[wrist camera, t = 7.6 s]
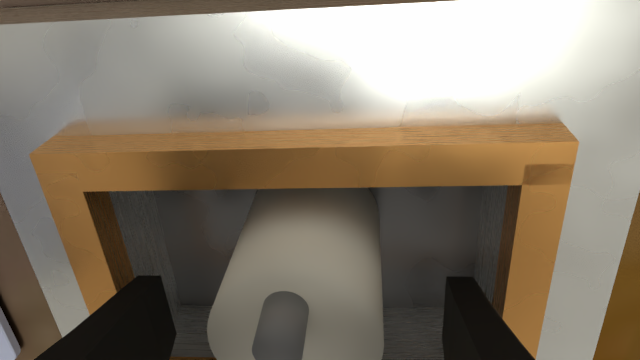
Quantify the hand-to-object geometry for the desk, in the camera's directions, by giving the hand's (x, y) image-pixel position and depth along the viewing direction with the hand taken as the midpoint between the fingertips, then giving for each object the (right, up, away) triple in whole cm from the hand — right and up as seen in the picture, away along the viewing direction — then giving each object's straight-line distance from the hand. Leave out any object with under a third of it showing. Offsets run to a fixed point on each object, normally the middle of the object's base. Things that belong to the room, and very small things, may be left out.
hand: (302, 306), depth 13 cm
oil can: (0, +2, +3) cm, 4 cm away
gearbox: (0, +2, +3) cm, 4 cm away
